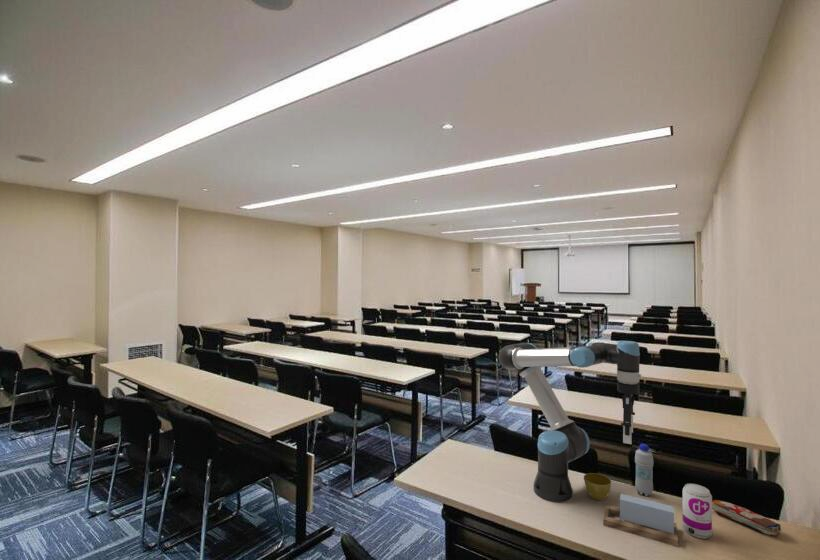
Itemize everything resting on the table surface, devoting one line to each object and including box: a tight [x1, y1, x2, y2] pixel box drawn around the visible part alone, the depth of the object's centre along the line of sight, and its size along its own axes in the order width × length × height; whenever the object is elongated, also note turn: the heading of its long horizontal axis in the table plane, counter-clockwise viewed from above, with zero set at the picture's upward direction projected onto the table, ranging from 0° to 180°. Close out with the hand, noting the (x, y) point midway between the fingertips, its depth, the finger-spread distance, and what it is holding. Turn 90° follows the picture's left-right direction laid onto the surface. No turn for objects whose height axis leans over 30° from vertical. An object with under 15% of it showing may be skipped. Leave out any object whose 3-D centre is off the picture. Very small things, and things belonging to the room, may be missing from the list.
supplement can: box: [681, 483, 713, 540], centre depth 137 cm, size 8×8×15 cm
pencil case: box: [712, 499, 782, 537], centre depth 143 cm, size 11×20×5 cm, turn 17°
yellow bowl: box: [583, 472, 612, 501], centre depth 160 cm, size 10×10×7 cm
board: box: [602, 504, 679, 547], centre depth 140 cm, size 22×11×2 cm, turn 59°
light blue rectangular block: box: [619, 493, 675, 534], centre depth 139 cm, size 16×4×9 cm, turn 59°
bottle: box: [634, 443, 654, 497], centre depth 163 cm, size 7×7×20 cm
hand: (628, 437), depth 152 cm, fingers open, 13 cm apart
